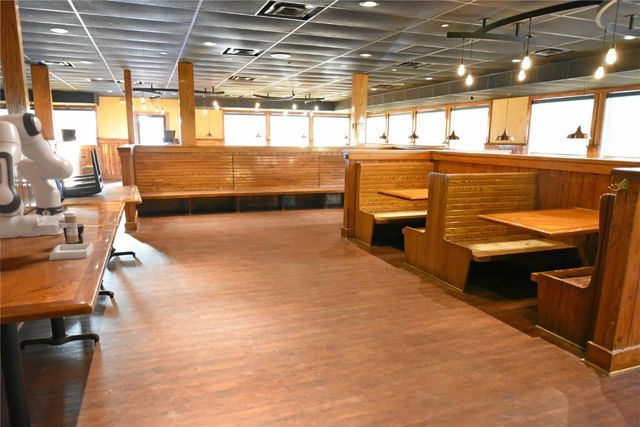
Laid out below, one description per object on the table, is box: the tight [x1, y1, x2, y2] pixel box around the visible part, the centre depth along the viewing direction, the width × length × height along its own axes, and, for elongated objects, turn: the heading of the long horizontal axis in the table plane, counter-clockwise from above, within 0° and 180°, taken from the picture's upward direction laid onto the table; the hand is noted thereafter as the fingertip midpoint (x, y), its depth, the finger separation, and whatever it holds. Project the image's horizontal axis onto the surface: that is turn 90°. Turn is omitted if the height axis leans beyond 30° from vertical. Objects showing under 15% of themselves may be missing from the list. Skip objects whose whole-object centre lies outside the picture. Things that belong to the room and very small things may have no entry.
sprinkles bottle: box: [63, 210, 79, 243], centre depth 186 cm, size 5×5×14 cm
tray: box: [48, 242, 94, 261], centre depth 188 cm, size 14×14×3 cm
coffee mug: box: [63, 223, 85, 245], centre depth 202 cm, size 12×9×10 cm
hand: (72, 223), depth 186 cm, fingers closed on sprinkles bottle, 4 cm apart
